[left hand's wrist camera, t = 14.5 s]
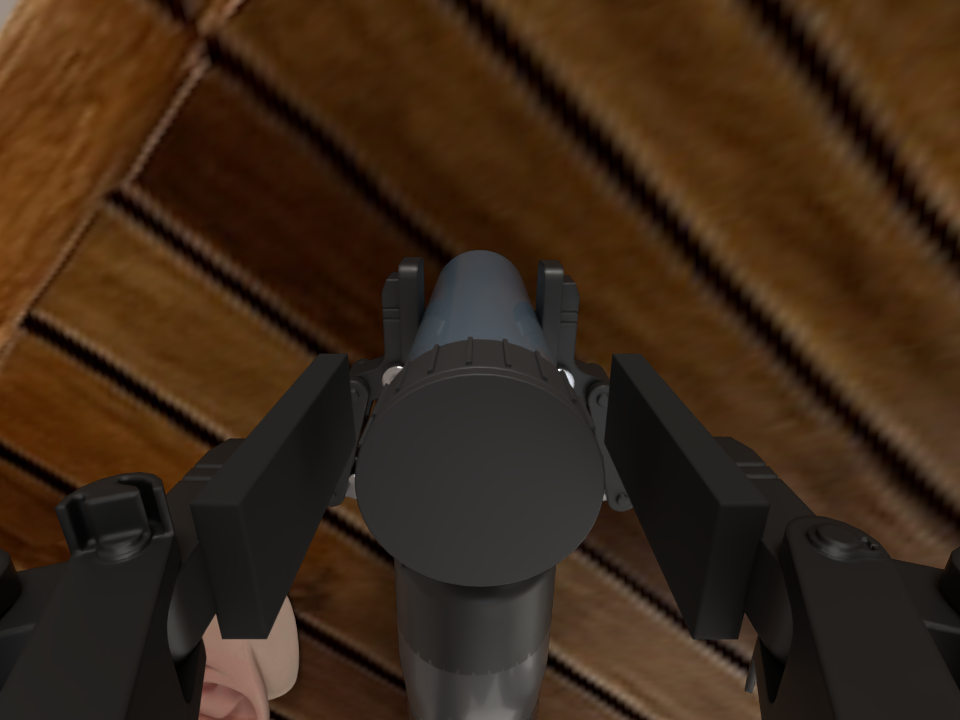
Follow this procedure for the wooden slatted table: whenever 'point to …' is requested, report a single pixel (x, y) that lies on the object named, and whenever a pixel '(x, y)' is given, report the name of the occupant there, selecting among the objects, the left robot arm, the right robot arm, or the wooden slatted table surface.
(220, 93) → the wooden slatted table surface
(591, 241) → the wooden slatted table surface
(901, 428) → the wooden slatted table surface
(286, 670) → the anatomical model
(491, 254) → the blue-grey cylindrical bottle
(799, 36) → the wooden slatted table surface
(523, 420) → the lid
